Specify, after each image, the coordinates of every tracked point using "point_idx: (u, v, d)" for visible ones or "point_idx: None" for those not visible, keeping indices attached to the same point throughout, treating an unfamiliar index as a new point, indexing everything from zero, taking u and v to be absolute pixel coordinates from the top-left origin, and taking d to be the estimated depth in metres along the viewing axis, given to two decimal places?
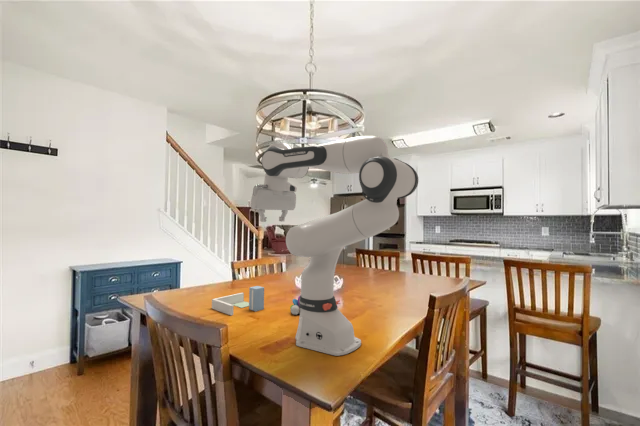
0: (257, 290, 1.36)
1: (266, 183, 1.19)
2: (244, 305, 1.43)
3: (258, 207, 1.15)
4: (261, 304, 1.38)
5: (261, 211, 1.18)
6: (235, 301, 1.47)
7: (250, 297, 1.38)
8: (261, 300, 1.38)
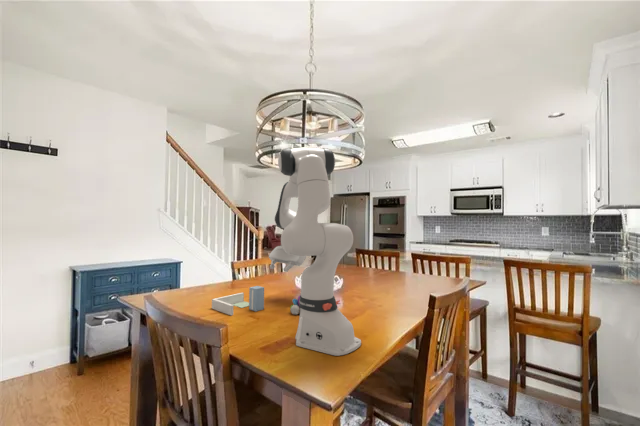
0: (257, 290, 1.36)
1: None
2: (244, 305, 1.43)
3: (269, 255, 1.56)
4: (261, 304, 1.38)
5: None
6: (235, 301, 1.47)
7: (250, 297, 1.38)
8: (261, 300, 1.38)
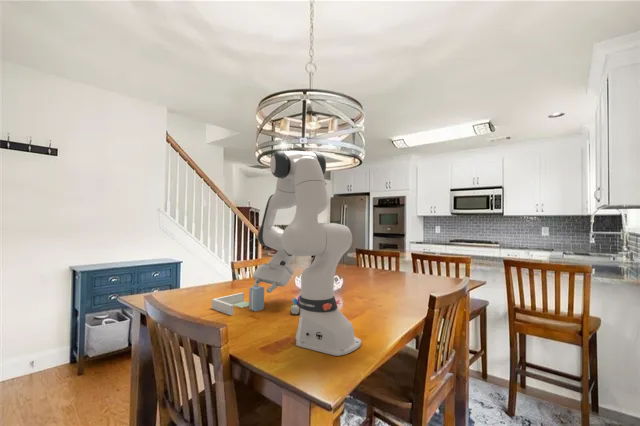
0: (257, 290, 1.36)
1: None
2: (244, 305, 1.43)
3: (253, 274, 1.49)
4: (261, 304, 1.38)
5: None
6: (235, 301, 1.47)
7: (250, 297, 1.38)
8: (261, 300, 1.38)
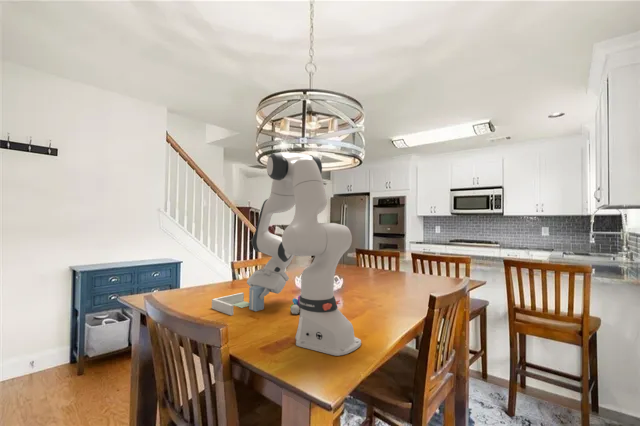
0: (257, 290, 1.36)
1: None
2: (244, 305, 1.43)
3: (247, 281, 1.46)
4: (261, 304, 1.38)
5: None
6: (235, 301, 1.47)
7: (250, 297, 1.38)
8: (261, 300, 1.38)
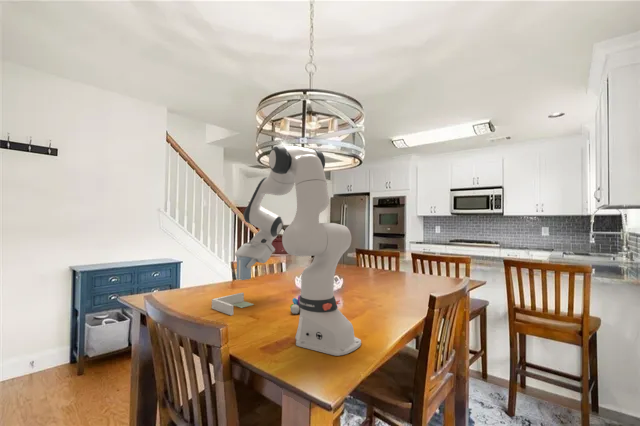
0: (244, 260, 1.43)
1: None
2: (244, 305, 1.43)
3: (235, 253, 1.52)
4: (248, 273, 1.44)
5: None
6: (235, 301, 1.47)
7: (237, 267, 1.44)
8: (248, 270, 1.44)
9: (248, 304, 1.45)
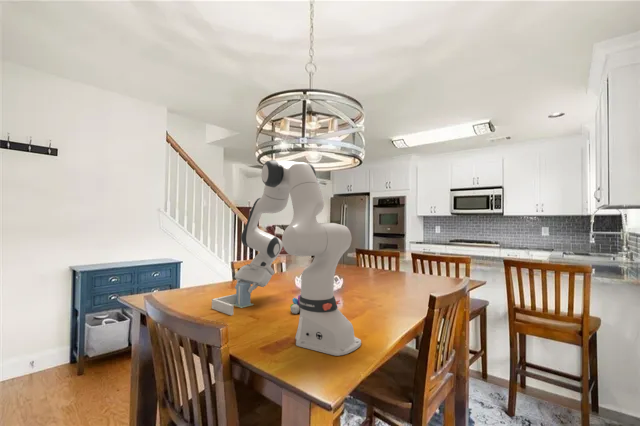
0: (244, 286, 1.43)
1: None
2: None
3: (235, 275, 1.52)
4: (248, 299, 1.44)
5: None
6: (235, 301, 1.47)
7: (237, 293, 1.44)
8: (248, 296, 1.44)
9: None
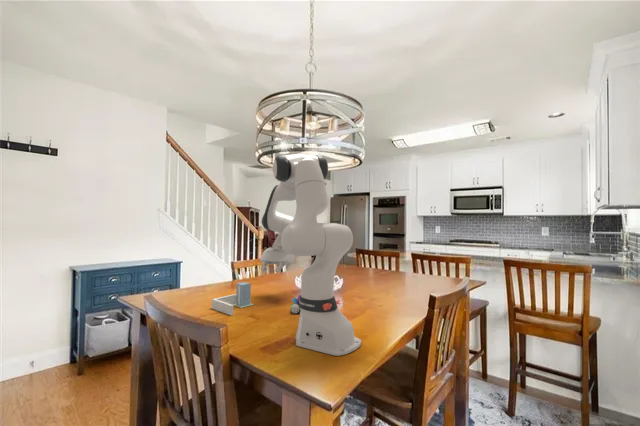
0: (244, 286, 1.43)
1: None
2: None
3: (260, 259, 1.60)
4: (248, 299, 1.44)
5: None
6: (235, 301, 1.47)
7: (237, 293, 1.44)
8: (248, 296, 1.44)
9: None
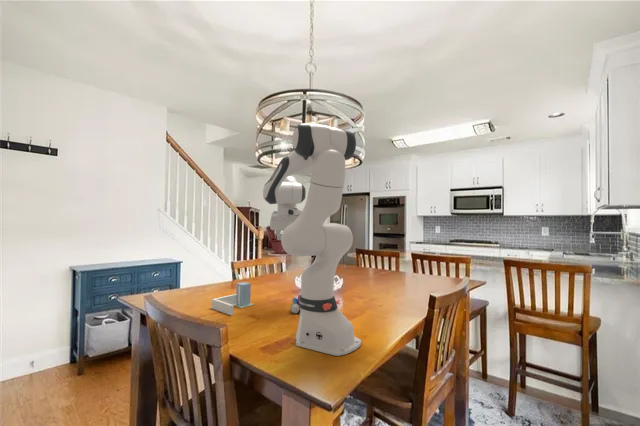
0: (244, 286, 1.43)
1: None
2: None
3: (271, 228, 1.54)
4: (248, 299, 1.44)
5: None
6: (235, 301, 1.47)
7: (237, 293, 1.44)
8: (248, 296, 1.44)
9: None
